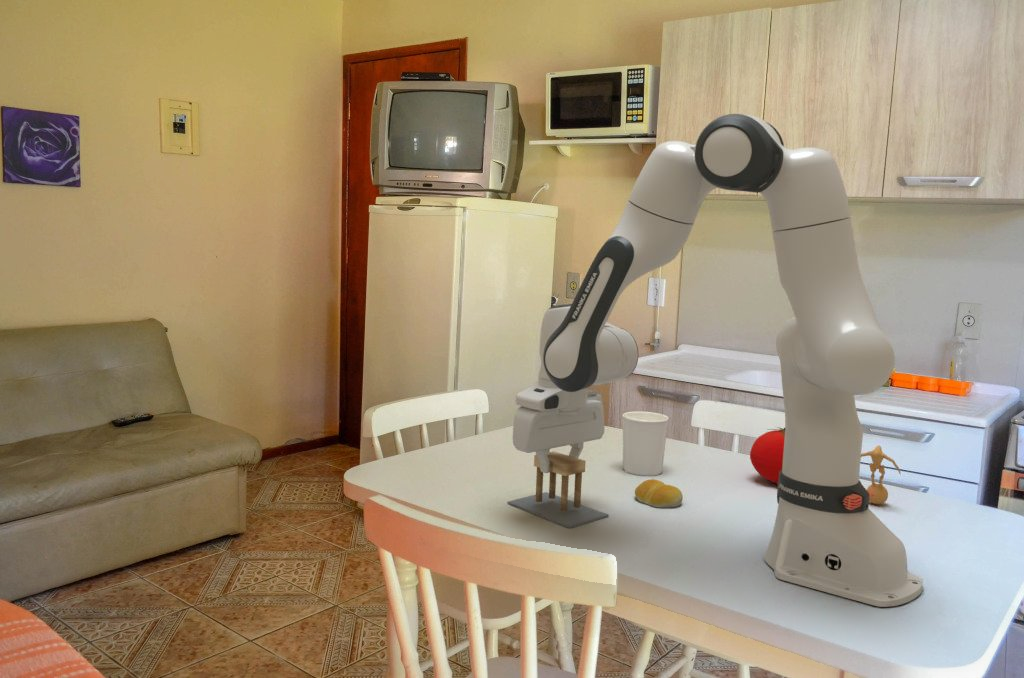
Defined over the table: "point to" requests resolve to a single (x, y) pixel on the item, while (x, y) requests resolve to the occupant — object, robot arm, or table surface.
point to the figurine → (880, 490)
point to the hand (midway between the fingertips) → (559, 469)
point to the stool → (565, 468)
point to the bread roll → (658, 494)
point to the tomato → (769, 454)
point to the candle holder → (644, 442)
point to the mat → (558, 510)
